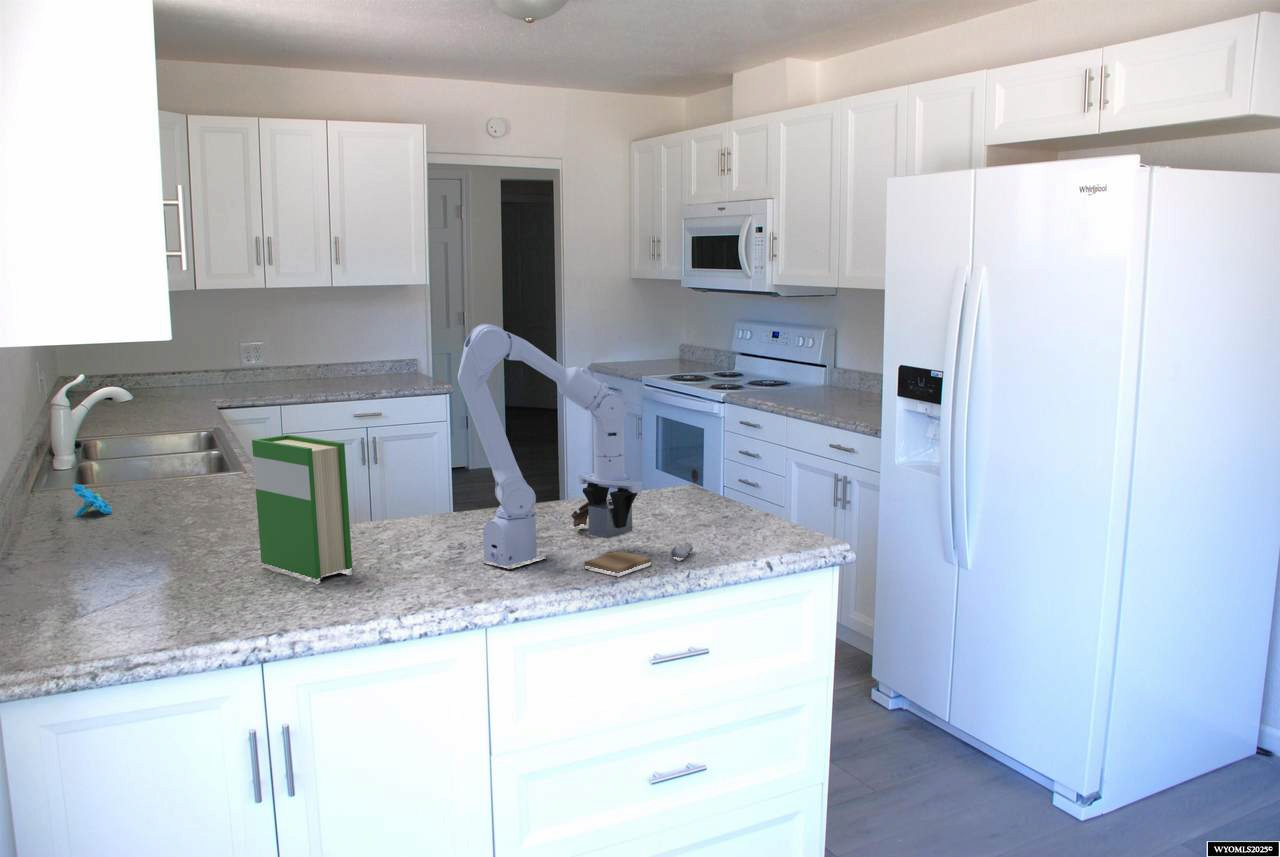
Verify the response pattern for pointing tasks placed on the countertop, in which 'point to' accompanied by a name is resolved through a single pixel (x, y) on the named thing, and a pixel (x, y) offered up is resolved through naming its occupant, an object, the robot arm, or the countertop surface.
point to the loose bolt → (681, 551)
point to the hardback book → (302, 504)
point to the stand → (617, 561)
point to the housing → (606, 520)
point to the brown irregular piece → (581, 515)
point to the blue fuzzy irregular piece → (90, 500)
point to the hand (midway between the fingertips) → (610, 525)
